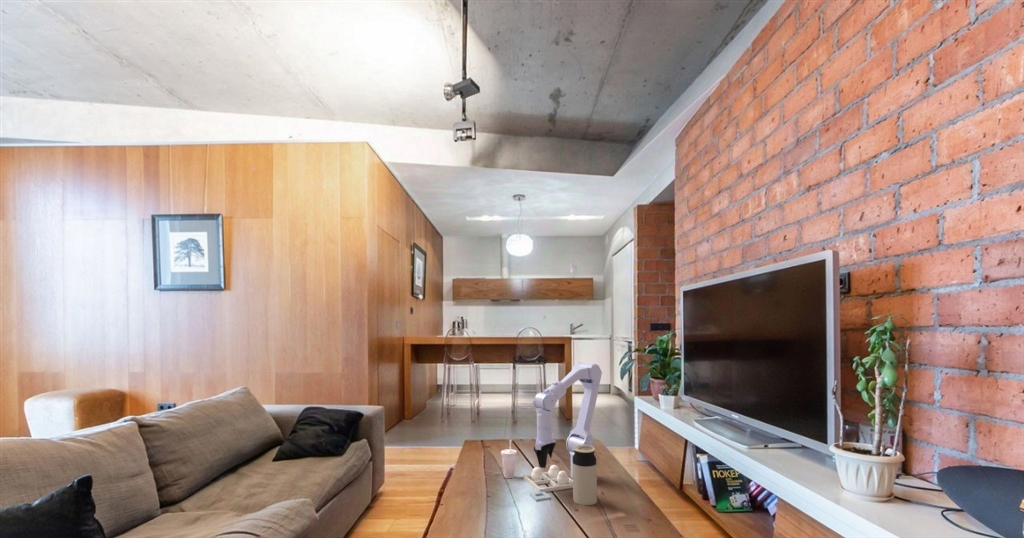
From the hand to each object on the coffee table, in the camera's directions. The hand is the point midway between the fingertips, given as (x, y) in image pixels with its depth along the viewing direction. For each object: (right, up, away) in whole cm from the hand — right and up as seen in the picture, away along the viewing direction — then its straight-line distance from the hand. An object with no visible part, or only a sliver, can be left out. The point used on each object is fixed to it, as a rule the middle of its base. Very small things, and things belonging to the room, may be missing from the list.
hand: (545, 465), depth 166 cm
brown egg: (0, -1, 0) cm, 1 cm away
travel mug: (+13, -8, -13) cm, 19 cm away
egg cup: (-2, -8, -10) cm, 13 cm away
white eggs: (+2, -9, +4) cm, 10 cm away
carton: (+2, -9, +4) cm, 10 cm away
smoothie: (-13, -10, +13) cm, 21 cm away
